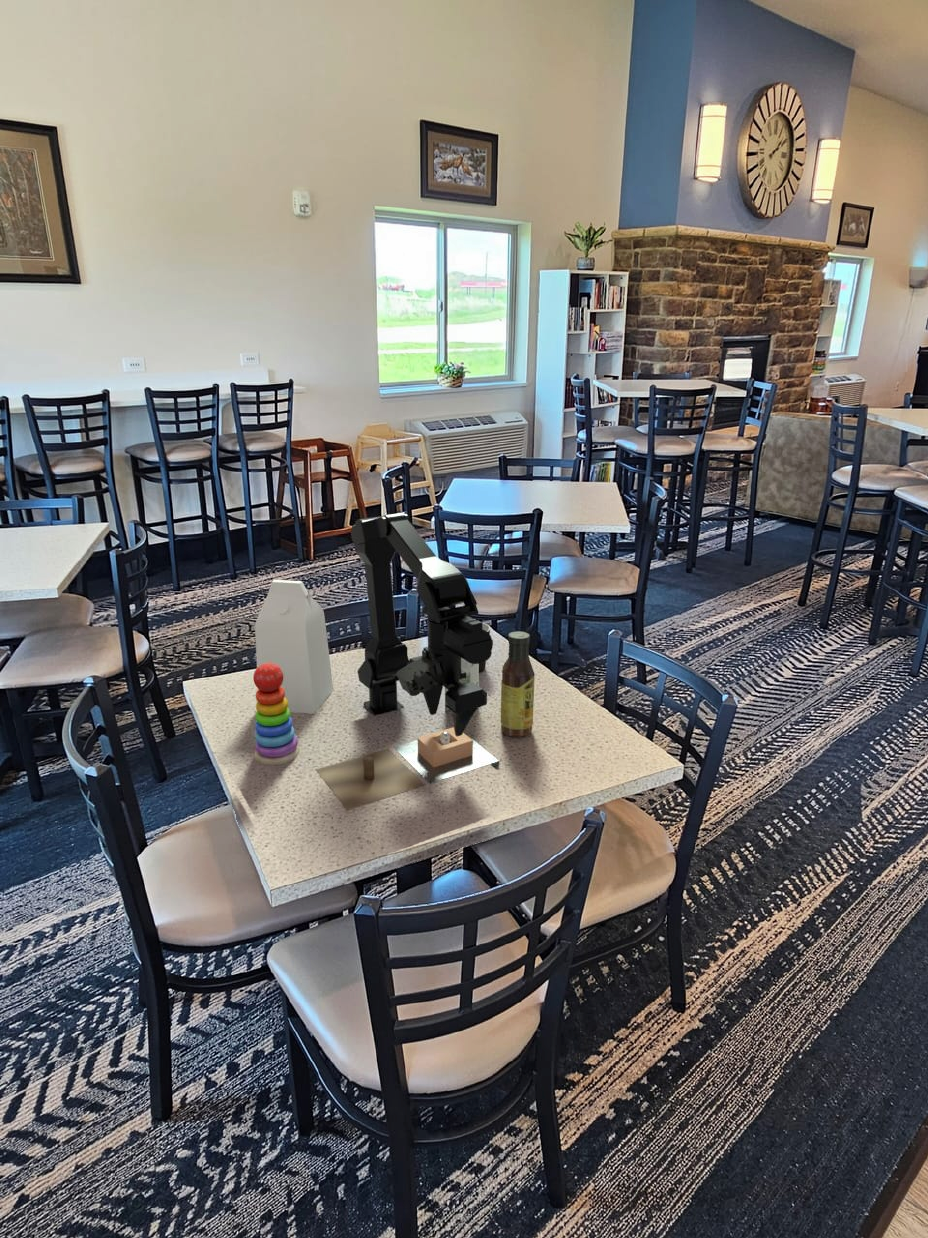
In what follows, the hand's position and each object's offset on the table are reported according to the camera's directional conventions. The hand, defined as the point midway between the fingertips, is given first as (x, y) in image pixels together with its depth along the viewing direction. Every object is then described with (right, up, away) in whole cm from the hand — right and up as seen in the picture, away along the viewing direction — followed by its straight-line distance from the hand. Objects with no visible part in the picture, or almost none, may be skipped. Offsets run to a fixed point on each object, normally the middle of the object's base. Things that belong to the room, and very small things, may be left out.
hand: (445, 724), depth 134 cm
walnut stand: (-13, -9, -5) cm, 17 cm away
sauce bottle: (+13, -3, +12) cm, 19 cm away
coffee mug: (+5, +7, +38) cm, 39 cm away
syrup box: (+3, 0, +22) cm, 22 cm away
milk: (-32, +2, +25) cm, 41 cm away
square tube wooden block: (0, -6, +2) cm, 6 cm away
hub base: (0, -7, +3) cm, 7 cm away
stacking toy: (-31, -7, +3) cm, 31 cm away
